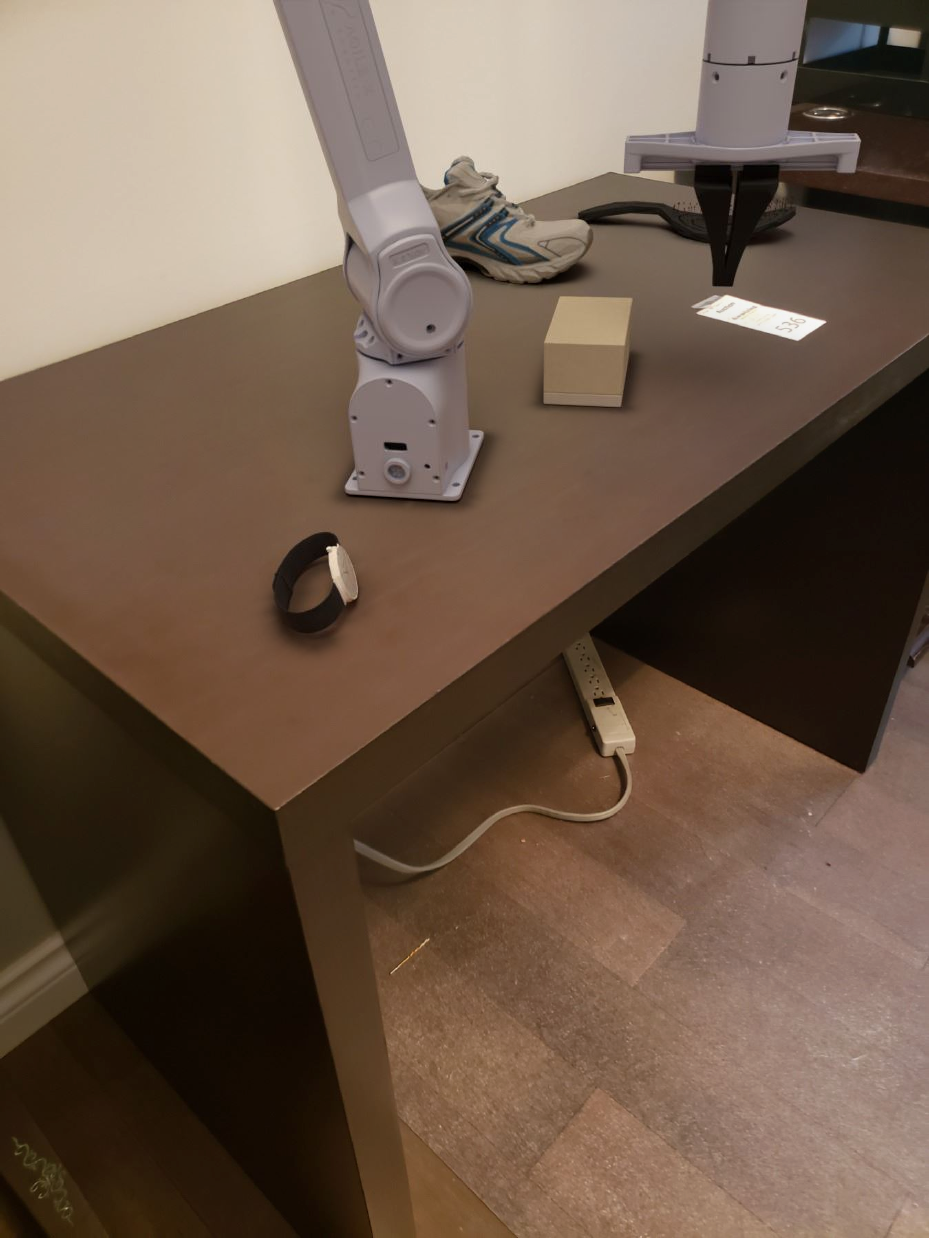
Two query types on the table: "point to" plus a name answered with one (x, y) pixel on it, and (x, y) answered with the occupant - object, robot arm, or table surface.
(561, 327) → the tilted tan cardboard box
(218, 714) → the table surface
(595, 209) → the hairbrush
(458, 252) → the athletic shoe
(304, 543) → the watch
